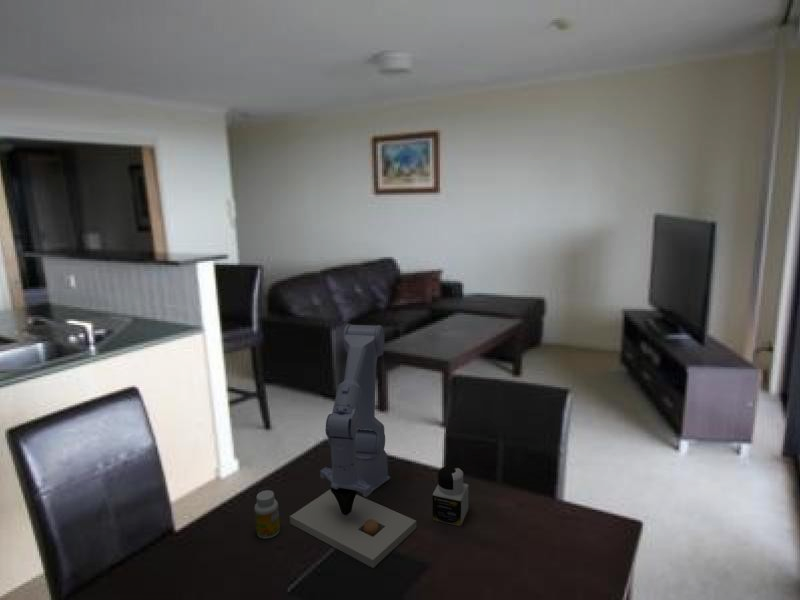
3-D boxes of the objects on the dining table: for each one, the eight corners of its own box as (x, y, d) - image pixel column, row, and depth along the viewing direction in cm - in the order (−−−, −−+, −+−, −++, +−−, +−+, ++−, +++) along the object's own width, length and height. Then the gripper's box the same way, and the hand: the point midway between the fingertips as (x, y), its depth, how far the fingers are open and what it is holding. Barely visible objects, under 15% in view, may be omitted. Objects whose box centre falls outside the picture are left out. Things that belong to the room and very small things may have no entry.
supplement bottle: (251, 535, 121) (248, 498, 119) (267, 522, 126) (264, 486, 123) (269, 542, 118) (266, 504, 116) (284, 528, 123) (281, 491, 121)
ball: (370, 524, 123) (371, 513, 121) (381, 533, 121) (382, 522, 119) (359, 532, 120) (361, 521, 119) (370, 541, 118) (372, 531, 117)
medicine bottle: (432, 520, 125) (431, 475, 122) (441, 503, 131) (440, 460, 129) (461, 526, 122) (461, 481, 119) (468, 509, 128) (468, 465, 126)
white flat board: (290, 523, 125) (289, 516, 124) (336, 492, 137) (335, 485, 137) (373, 568, 109) (372, 560, 109) (416, 528, 122) (416, 520, 121)
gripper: (309, 459, 122) (313, 510, 125) (356, 478, 113) (358, 532, 116) (330, 447, 127) (333, 496, 130) (376, 464, 119) (378, 516, 122)
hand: (346, 512), depth 124 cm, fingers closed
